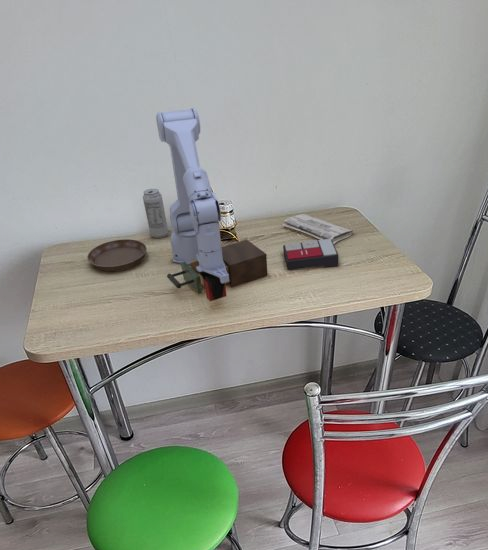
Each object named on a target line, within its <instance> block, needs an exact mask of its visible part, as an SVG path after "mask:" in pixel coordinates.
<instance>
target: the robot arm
mask: <svg viewBox="0 0 488 550" xmlns="http://www.w3.org/2000/svg"><path fill="white" fill-rule="evenodd" d="M155 120H156V126H157V131H158V138H159V140H160V142H161V143H166V144H167V145H168V146H169V149H170V157H171V163H172V170H173V177H174V183H175V189H176V190H175V191H176V196H177V199H176V200H175V201H174V202H173V203H171V204H170V206H169V219H170V224H171V228H172V233H171V236H170V245H171V252H172V257H173V259H172V263H177V264H181V263H182V262H186V263H187V264H188V265H189V266H190V262H191V261H194V260H197V261H198V262H199V266H197V267H196V269H197V271H198V272H199V273H200V275H201V276H202V278H203V279H206V280H207V281H208V283H209V285H210V287H211V290H212V294H213V297H214V299H215V300H214V301H216V299H217V300H220V299H223V298H222V296H223V290H224V285H225V286H226V284H227V283H226V282H228V281H229V274H228V273H227V272H226V268H225V264H224V261H223V256H222V247H223V246H222V239H221V231H220V230H221V229H220V222H221V220H222V211H221V207H220V203H219V200H218V197H217V196H216V193H215V192H214V191H213V190H212V186H211V183H210V179H209V175H208V173H207V171H206V170H205V169H204V168H202V167H201V166H200V159H199V155H198V150H197V145H196V142H197V141H198V140H199V139H200V134H201V120H200V115H199V113H198V111H197V110H196V109H195V108H194V107H192V108H189V109H179V110H171V111H163V112H161V111H158V112H156V114H155ZM225 283H226V284H225ZM219 298H220V299H219Z"/></svg>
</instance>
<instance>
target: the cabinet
mask: <svg viewBox="0 0 488 550" xmlns="http://www.w3.org/2000/svg"><path fill="white" fill-rule="evenodd" d="M221 247H222V256H223V261H224V263H226V264H227V265H228V266H229V269H230V279H231V282H229V283H227V284H228V285H229V286H230V287H231V288H236V287H238V286H241V285H244V284H247V283H250V282H254V281H256V280H259V279H262V278H265V277H268V258H267V253H266V252H264V251H263V250H262V249H260V248H259V247H258V246H257V245H255V244H253V243H252V242H251V241H249V240H248V239H244V240H241V241H237V242H234V243H231V244H227V245H224V246H221Z"/></svg>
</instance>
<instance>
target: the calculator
mask: <svg viewBox="0 0 488 550" xmlns="http://www.w3.org/2000/svg"><path fill="white" fill-rule="evenodd" d="M282 249H283V256H284V261H285V265H286V270H287V271H294V270H302V269H311V268H317V267H318V268H319V267H323V268H333V267H338V266H339V253H338V251H337V248H336V246H335V244H333V241H332V239H324V240H320V239H312V240H305V241H297V242H289V243H287V242H286V243H284V244H283V245H282Z"/></svg>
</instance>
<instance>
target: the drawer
mask: <svg viewBox="0 0 488 550" xmlns="http://www.w3.org/2000/svg"><path fill="white" fill-rule="evenodd" d="M224 264H225V268H226V272H227V273H228V274H229V281H228V282H226V283H225V285H226V284H228V283H229V282H231V279H230V269H229V266H228V265H227V264H226V263H224ZM180 265H181V266H180V267H181V271H179V272H175V273H169V272H168V273H167V274H166V278H167V279H168V280H169V281H170V283H171V284H173V285H174V286H175V288H176V289H179V290H180V289H181V288H182V286H187V285H189V287H191V289H192V290H193V291H194V292H195V293H196V294H197V295H201V294H203V289H204V290H205V283H204V279H203V278H202V276H201V275H200V273H199V272H198V271H197V269H196V267H197V266H199V262H198V261H197V260H194V261H191V262H190V265H189V264H187V263H186V262H182V263H180ZM181 275H182V278H183V280H184V281H183V282H181V283H180V282H179V281H178V279H176V277H177V276H181Z"/></svg>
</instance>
